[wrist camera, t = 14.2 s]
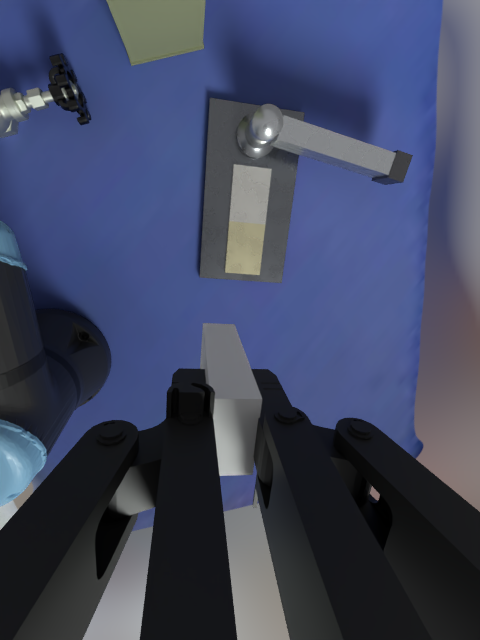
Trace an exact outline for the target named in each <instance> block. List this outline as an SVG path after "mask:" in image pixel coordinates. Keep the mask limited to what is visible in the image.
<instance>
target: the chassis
mask: <svg viewBox="0 0 480 640" xmlns="http://www.w3.org/2000/svg"><path fill="white" fill-rule="evenodd" d="M259 107H261V106H259V105H253V104H247V103H240V102H234V101H228V100H221V99H215V98H210V102H209V119H208V137H207V154H206V172H205V189H204V207H203V224H202V242H201V259H200V277H201V278H216V279H230V280H245V281H260V282H275V283H282V276H283V268H284V261H285V253H286V246H287V239H288V231H289V224H290V217H291V209H292V202H293V194H294V187H295V180H296V172H297V165H298V158H299V155H298V154H295V153H292V152H289V151H286V150H282V149H279V148H276V147H273V146H270V144H271V141H270V142H269V143H268V144H267V145H266V146H265V147H263V148H260V149H256V148H253V147H251V146H250V145H249V144H248V143H247V141H246V138H245V129H246V127H247V125H248V123H249V122H250V120H251V119H252V117H253V116H254V114H255V112H256V111H257V110H258V108H259ZM280 111H281V113H282V115H285V116H288V117H291V118H294V119H297V120H300V121H304V112H298V111H291V110H285V109H280Z"/></svg>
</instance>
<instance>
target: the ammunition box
mask: <svg viewBox="0 0 480 640" xmlns="http://www.w3.org/2000/svg"><path fill="white" fill-rule="evenodd" d="M106 1H107V3H108V6H109V8H110V11H111V13H112V15H113V18H114V20H115V23H116V25H117V28H118V30H119V33H120V35H121V38H122V40H123V42H124V45H125V47H126V51H127V54H128V57H129V60H130V63H131V66H133V65H137V64H142V63H146V62H150V61H154V60H159V59H163V58H167V57H171V56H175V55H180V54H184V53H188V52H192V51H197V50H201V49H204V44H203V31H204V16H205V0H106Z"/></svg>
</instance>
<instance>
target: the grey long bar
mask: <svg viewBox="0 0 480 640" xmlns="http://www.w3.org/2000/svg"><path fill="white" fill-rule="evenodd" d="M245 138H246V141H247V143H248V144H249V145H250V146H251V147H253V148H256V149H260V148H263V147H265V146H266V145H267V144H268V143H269V142H270V141H271V144H270V146H273V147H276V148H279V149H282V150H286V151H289V152H292V153H295V154H298V155H301V156H305V157H308V158H311V159H314V160H317V161H320V162H324V163H327V164H330V165H333V166H336V167H339V168H343V169H346V170H349V171H352V172H355V173H358V174H362V175H365V176H368V177H371V178H372V181H375V182H378V183H381V184H384V185H387V184H395V183H402V182H403V181H404V178H405V175H406V173H407V170H408V167H409V164H410V162H411V159H412V156H413V155H410V154H407V153H404V152H401V151H399V150H397V151H394V152H391V151H388V150H385V149H382V148H380V147H377V146H374V145H371V144H368V143H365V142H362V141H359V140H356V139H353V138H350V137H347V136H344V135H341V134H338V133H335V132H332V131H329V130H326V129H324V128H321V127H318V126H315V125H312V124H309V123H306V122H303V121H300V120H297V119H294V118H291V117H288V116H285V115H282V113H281V111H280V109H279V108H278V107H276V106H275V105H273V104H264V105H262V106H261V107H259V108H258V110H257V111H256V112H255V114H254V116H253V117H252V119H251V120H250V122H249V123H248V125H247V127H246V129H245Z"/></svg>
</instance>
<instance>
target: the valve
mask: <svg viewBox="0 0 480 640" xmlns="http://www.w3.org/2000/svg"><path fill="white" fill-rule="evenodd" d="M50 61H51V63H52V65H53V66H55V67H53V68H52V69H51V70H50V72H49V80H50V82H51V84H49V85H48V88H49V91H45V92H43V91H42V90H41V89H40V88H35V89H31V90H27V91H26V92H27V95H25V96H24V95H23V94H22V93H20V92H19V93H17V92H16V91H15V90H14V89H13V88H7V89H4V90H2V91H1V95H0V138H4V137H8V136H12V135H15V134H18V123H19V122H21V121H25V120H28V119H29V114H28V113H31V108H34V109H36V110H37V111H39V110H42V109H46V108H49V104H48V103H49V102H53V101H55V103H56V104H57V105H58V106H61V108H62V109H64V110H66V111H71V112H76V111H77V112H78V114H80V116H81V117H78V118H77V120H78V122H79V124H80V125H84V124H88V123H89V120H91V115H90V113H89V111H88V110H87V109H86V107H85V104H86V103H87V102H86V98H85V96H84V94H83V93H82V92H80V90H79V87H78V85H77V77H76V75H75V73H74V71H73V70H69V68H68V62H67V60H66V58H65V56H64V54H63V53H61V54H56V55H52V56H50ZM58 73H59V75H55V74H58Z"/></svg>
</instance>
